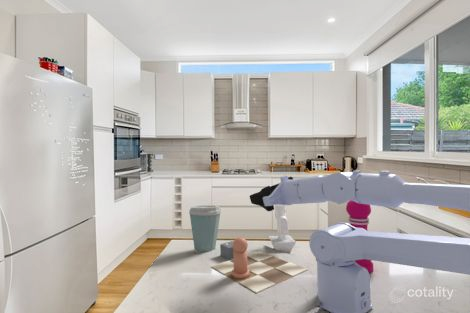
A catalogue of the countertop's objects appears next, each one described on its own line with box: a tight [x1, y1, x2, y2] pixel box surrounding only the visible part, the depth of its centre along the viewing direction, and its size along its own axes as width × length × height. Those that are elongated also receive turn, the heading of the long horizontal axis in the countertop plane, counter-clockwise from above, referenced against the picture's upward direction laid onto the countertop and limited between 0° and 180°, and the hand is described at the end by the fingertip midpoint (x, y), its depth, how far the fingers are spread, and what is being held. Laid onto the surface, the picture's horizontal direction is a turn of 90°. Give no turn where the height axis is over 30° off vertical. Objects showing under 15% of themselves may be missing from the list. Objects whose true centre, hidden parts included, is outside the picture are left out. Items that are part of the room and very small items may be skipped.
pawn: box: [232, 236, 250, 279], centre depth 64 cm, size 4×4×9 cm
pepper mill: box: [345, 200, 374, 274], centre depth 69 cm, size 7×7×20 cm
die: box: [219, 240, 234, 261], centre depth 77 cm, size 4×4×5 cm
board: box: [210, 250, 309, 294], centre depth 68 cm, size 18×18×1 cm
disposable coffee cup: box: [188, 204, 222, 254], centre depth 85 cm, size 11×11×15 cm
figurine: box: [268, 205, 297, 253], centre depth 84 cm, size 7×9×15 cm
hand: (261, 194), depth 68 cm, fingers open, 7 cm apart
